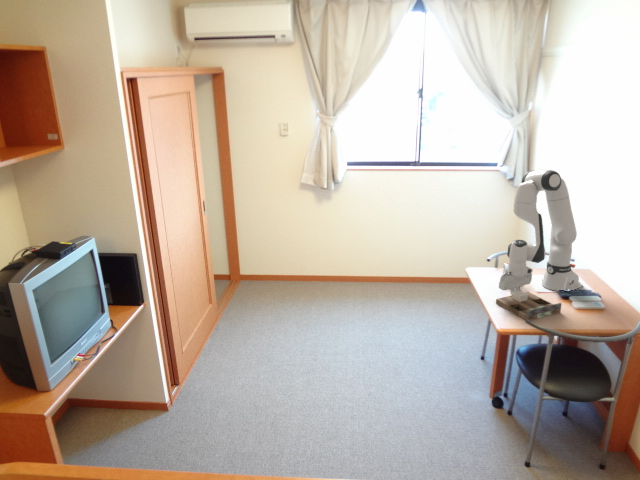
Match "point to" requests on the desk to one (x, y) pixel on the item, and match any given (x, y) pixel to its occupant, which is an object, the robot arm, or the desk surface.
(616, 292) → the desk surface
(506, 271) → the light bulb box
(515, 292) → the block
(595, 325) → the desk surface
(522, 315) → the board
